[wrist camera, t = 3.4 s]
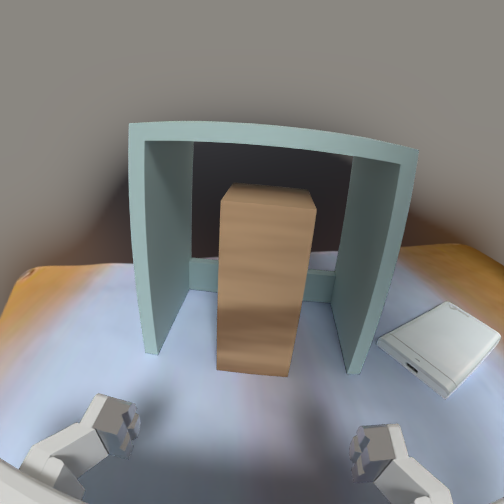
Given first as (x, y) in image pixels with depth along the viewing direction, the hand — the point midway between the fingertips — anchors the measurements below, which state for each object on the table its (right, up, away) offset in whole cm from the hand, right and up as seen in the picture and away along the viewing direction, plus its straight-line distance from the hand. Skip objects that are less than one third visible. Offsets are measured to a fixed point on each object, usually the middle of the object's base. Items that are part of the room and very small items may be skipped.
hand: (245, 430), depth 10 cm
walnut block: (0, -1, +14) cm, 14 cm away
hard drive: (+18, -3, +15) cm, 23 cm away
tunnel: (+1, 0, +17) cm, 17 cm away
